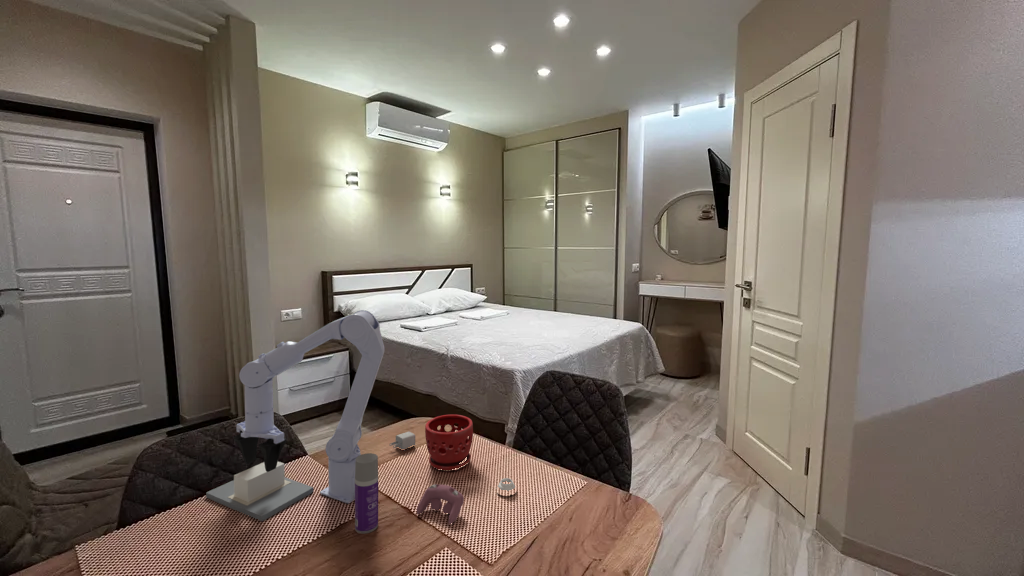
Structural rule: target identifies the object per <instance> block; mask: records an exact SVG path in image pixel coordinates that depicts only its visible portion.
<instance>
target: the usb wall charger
mask: <svg viewBox="0 0 1024 576" xmlns="http://www.w3.org/2000/svg"><path fill="white" fill-rule="evenodd" d="M412 445H415V446H416V434H415V433H413V432H411V431H406V432H403V433H400V434H397V435H395V441H393V442H390V443H389V446H390V447H391V446H392V448H393V449H395V448H396V447H399V448H401V449H406V448H408V447H410V446H412ZM396 449H397V448H396Z"/></svg>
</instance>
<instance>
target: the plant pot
mask: <svg viewBox="0 0 1024 576" xmlns="http://www.w3.org/2000/svg"><path fill="white" fill-rule="evenodd" d="M455 424H457V427H456V426H455ZM448 425H449V426H450V427H451V429H450V430H449V431H447V430H446V429H445V428H446V426H448ZM439 426H440V429H439ZM424 427H425V428H424V430H425V431H424V432H425V433H424V434H425V442H426V443H425V444H426V449H427V451H428V454H429V457H428V462H429V464H430V466H431V465H432V466H433V467H432V468H434V467H435V468H437V469H442V470H452V469H455V468H459V467H461V466H463V465H465V464H466V463H468V462H469V463H470V461H471V453H470V451H471V448H472V445H473V437H474V425H473V420H472V419H471V418H470V417H468V416H465V415H461V414H443V415H438V416H435V417H433V418H431V419H429V420H428V421H427V422H426V423H425V425H424ZM466 457H467V460H466V461H465V462H464V463H462V464H459V463H460V462H462V461H463V460H464V459H465V458H466ZM469 463H468V464H469ZM435 468H434V469H435ZM437 469H436V470H437Z"/></svg>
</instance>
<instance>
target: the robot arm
mask: <svg viewBox="0 0 1024 576" xmlns="http://www.w3.org/2000/svg"><path fill="white" fill-rule="evenodd" d="M380 326H381V325H380V322H379V321H378V320H377V318H376V317H375V316H374V315H373V313H372V312H370V311H368V310H364V309H360V310H357V311H355V312H354V313H353V314H349V315H346V316H344V317H340V318H338V319H335V320H333V321H332V322H329V323H327V324H325V325H324V326H322V327H320V328H318V329H317V330H316V331H314V332H312V333H311V334H309V335H307V336H306V337H304V338H303V339H301V340H299V341H298V342H296V341H291V340H288V341H286V342H285V341H281V342H279V343H277V344H276V348H274V349H272V350H270V351H268V352H266V353H264V352H263V353H261V354H259V355H257V357H258V358H257V359H255V360H253V361H249V362H247V363H246V364H245V365H243V367H242V368H241V369H240V371H239V380H240V382H241V383H242V384H243V385H244V416H245V417H244V421H241V422H240V423H237V424H236V432H237V433H239V434H238V435H237V434H236V435H235V436H233V441H234V442H235V444H236V445H237V446H238V448H239V450H240V452H241V456H242V458H243V460H244V464H245V465H249V464H251V463H254V462H256V459H257V454H258V453H257V451H258V447H259V449H260V450H261V453H262V456H263V462H264V464H265V470H266V471H267V472H269V471H271V470H273V469H276V466H277V462H279V459H280V455H281V452H282V450H283V448H284V446H285V445H286V443H287V438H286V437H285V432H283V431H281V430H280V429H279V428H278V427H277V426H276V425H275V424H274V423H275V422H274V418H275V417H274V387H273V386H274V380H273V379H274V378H275V377H277V376H279V375H280V374H282V373H284V372H286V371H288V370H290V369H291V368H292V367H294V366H296V365H298V364H299V363H302V362H303V359H304V356H305V354H306V353H308V352H309V351H312V350H313V349H316V348H317V347H319V346H321V345H323V344H325V343H326V342H328V341H329V340H332V339H333V340H337V341H338V340H340V341H341V340H343V339H346V341H348V342H350V343H351V344H352V345H353V346H355V347H356V349H357V350H358V351H359V353H360V354H361V358H360V361H359V364H358V367H357V370H356V373H355V375H354V379H353V381H352V385H351V388H350V391H349V393H348V398H347V400H346V402H345V406H344V409H343V412H342V414H341V418H340V420H339V422H338V424H337V427H336V429H335V431H334V433H333V435H332V437H331V438H329V439H328V441H327V442H326V444H325V453H326V456H327V458H328V462H327V463H328V486H327V487H325V488H323V489H321V490H320V492H319V493H320V494H321V495H322V496H326V497H328V498H331V499H333V500H338V501H340V502H343V503H345V504H350V503H352V502H353V501H355V462H356V458H357V457H358V456H360V455H362V454H361V449H360V447H359V444H358V442H359V441H360V440H361V438H362V434H363V433H362V431H363V430H362V422H363V417H364V415H365V411H366V408H367V405H368V402H369V399H370V396H371V393H372V391H373V388H374V385H375V381H376V378H377V375H378V373H379V369H380V366H381V364H382V360H383V357H384V355H385V349H386V348H385V344H384V340H383V336H382V333H381V328H380ZM259 438H262V439H265V440H266V441H265V442H262V443H259V444H258V442H259V440H260V439H259Z"/></svg>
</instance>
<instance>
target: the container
mask: <svg viewBox="0 0 1024 576" xmlns="http://www.w3.org/2000/svg"><path fill="white" fill-rule="evenodd" d="M378 526H379V456H378V455H377V453H376V454H375V453H372V452H368V453H362V454H361V455H360V456H358V457H357V458H356V462H355V500H354V531H355V532H357V534H370V533H372V532H374V531H375V530H376V529H378Z"/></svg>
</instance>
